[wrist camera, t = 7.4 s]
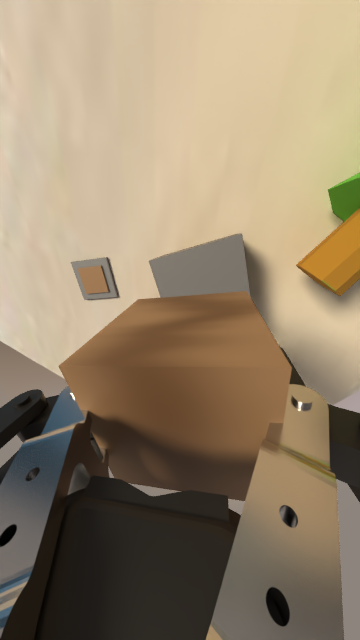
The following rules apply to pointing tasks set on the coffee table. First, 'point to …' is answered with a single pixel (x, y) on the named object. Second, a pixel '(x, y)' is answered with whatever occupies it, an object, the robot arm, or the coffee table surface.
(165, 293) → the base block
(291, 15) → the coffee table surface
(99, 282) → the card
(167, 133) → the coffee table surface
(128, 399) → the walnut cube
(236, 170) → the coffee table surface
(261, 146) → the coffee table surface
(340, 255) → the decorative tree
